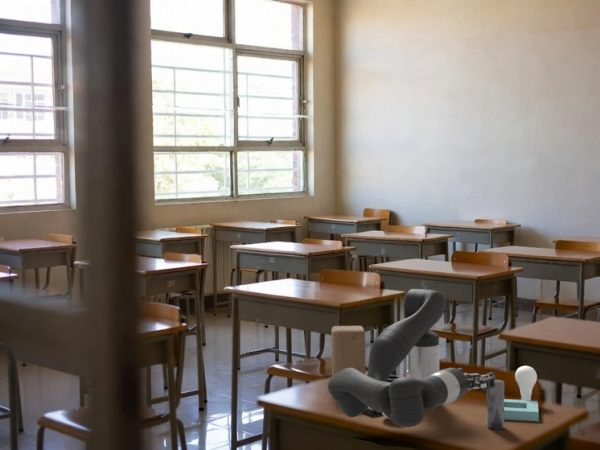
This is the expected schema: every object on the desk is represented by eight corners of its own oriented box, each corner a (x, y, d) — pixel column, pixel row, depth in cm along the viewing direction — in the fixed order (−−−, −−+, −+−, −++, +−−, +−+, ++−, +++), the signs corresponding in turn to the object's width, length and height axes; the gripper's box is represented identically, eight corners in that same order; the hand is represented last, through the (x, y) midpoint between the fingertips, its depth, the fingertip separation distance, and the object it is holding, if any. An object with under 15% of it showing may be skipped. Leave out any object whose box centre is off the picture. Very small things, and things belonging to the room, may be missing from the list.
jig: (492, 418, 215) (492, 409, 215) (493, 407, 227) (493, 398, 227) (538, 421, 212) (538, 412, 212) (537, 409, 224) (537, 400, 224)
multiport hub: (360, 406, 231) (360, 399, 231) (384, 415, 221) (384, 407, 221) (348, 409, 228) (348, 401, 228) (372, 417, 219) (371, 409, 219)
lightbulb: (538, 406, 227) (537, 368, 226) (515, 406, 228) (515, 367, 228) (536, 401, 233) (535, 364, 232) (514, 400, 234) (514, 363, 234)
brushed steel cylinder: (486, 429, 206) (486, 383, 205) (487, 424, 210) (487, 379, 210) (504, 430, 205) (504, 383, 204) (504, 425, 209) (504, 380, 208)
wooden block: (365, 395, 242) (365, 330, 241) (333, 396, 242) (332, 330, 241) (363, 387, 252) (363, 325, 251) (332, 388, 252) (331, 325, 251)
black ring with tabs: (401, 390, 248) (401, 381, 248) (372, 387, 254) (372, 378, 254) (411, 385, 255) (411, 376, 255) (384, 382, 260) (383, 373, 260)
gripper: (418, 398, 190) (452, 385, 203) (472, 407, 181) (504, 393, 193) (418, 367, 190) (451, 355, 202) (472, 375, 181) (504, 362, 193)
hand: (477, 374), depth 198 cm, fingers open, 8 cm apart
